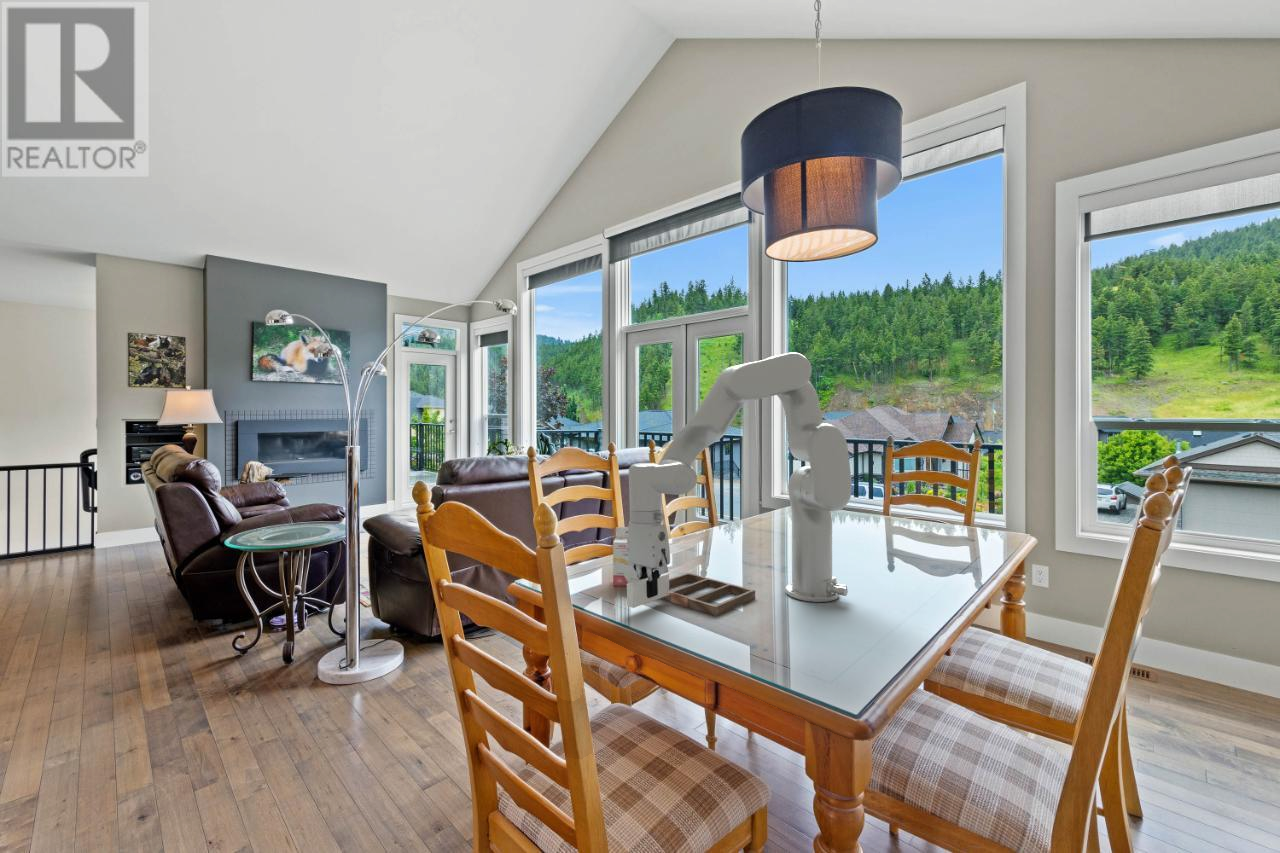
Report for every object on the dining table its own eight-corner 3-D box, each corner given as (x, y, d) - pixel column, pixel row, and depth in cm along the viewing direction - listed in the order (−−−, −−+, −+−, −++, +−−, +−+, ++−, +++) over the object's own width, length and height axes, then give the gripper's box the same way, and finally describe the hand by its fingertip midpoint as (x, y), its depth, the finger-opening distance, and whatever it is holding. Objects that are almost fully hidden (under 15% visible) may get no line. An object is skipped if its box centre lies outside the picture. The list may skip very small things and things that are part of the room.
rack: (755, 598, 133) (755, 588, 133) (715, 616, 122) (715, 605, 122) (688, 580, 148) (688, 571, 148) (647, 594, 137) (647, 584, 137)
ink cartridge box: (612, 586, 144) (611, 530, 144) (615, 580, 149) (614, 526, 149) (645, 587, 143) (644, 530, 143) (646, 581, 148) (646, 526, 148)
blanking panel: (669, 594, 131) (668, 573, 131) (633, 607, 123) (632, 585, 123) (663, 593, 133) (662, 572, 133) (627, 605, 124) (626, 583, 124)
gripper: (682, 518, 124) (684, 598, 125) (634, 510, 135) (636, 584, 136) (659, 523, 119) (662, 607, 119) (611, 515, 130) (614, 592, 131)
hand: (648, 594), depth 128 cm, fingers closed on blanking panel, 1 cm apart
